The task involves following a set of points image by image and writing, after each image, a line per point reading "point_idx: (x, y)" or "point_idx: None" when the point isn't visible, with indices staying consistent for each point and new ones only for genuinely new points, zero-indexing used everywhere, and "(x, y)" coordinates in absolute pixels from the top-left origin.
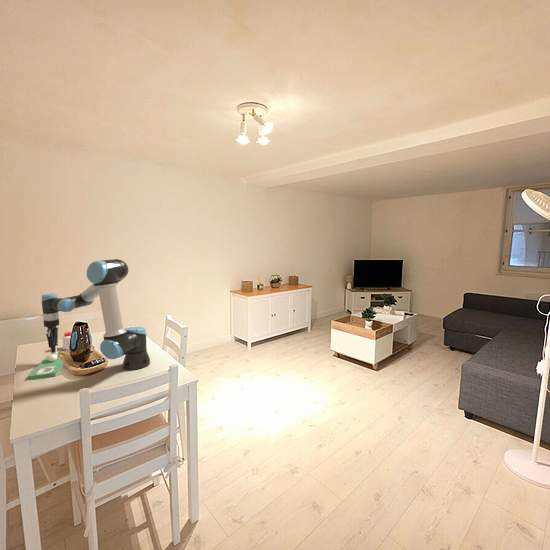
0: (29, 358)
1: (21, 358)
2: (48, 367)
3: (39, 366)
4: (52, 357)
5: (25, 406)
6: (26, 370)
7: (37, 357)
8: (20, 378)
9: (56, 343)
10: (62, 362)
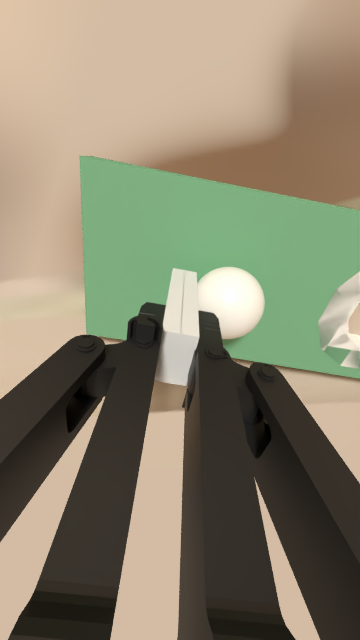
0: None
1: None
2: (352, 305)
3: (280, 355)
4: (262, 308)
5: None
6: None
7: (34, 366)
8: (339, 399)
9: (137, 354)
10: (314, 208)
